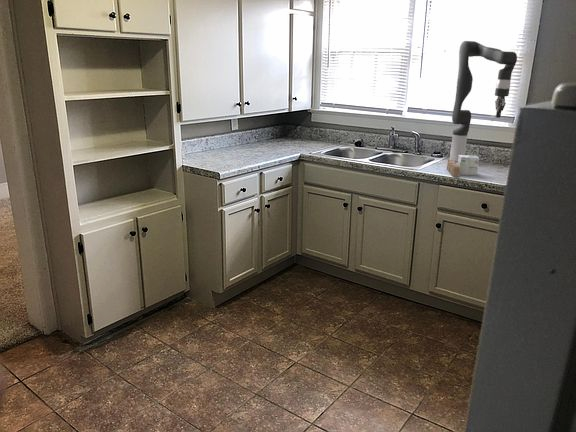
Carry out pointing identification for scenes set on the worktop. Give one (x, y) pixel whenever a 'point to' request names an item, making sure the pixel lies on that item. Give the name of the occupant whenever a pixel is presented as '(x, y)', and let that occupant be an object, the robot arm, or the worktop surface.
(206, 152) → the worktop surface
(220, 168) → the worktop surface
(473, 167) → the light bulb box
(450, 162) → the orange brown stepped block
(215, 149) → the worktop surface
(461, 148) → the robot arm
